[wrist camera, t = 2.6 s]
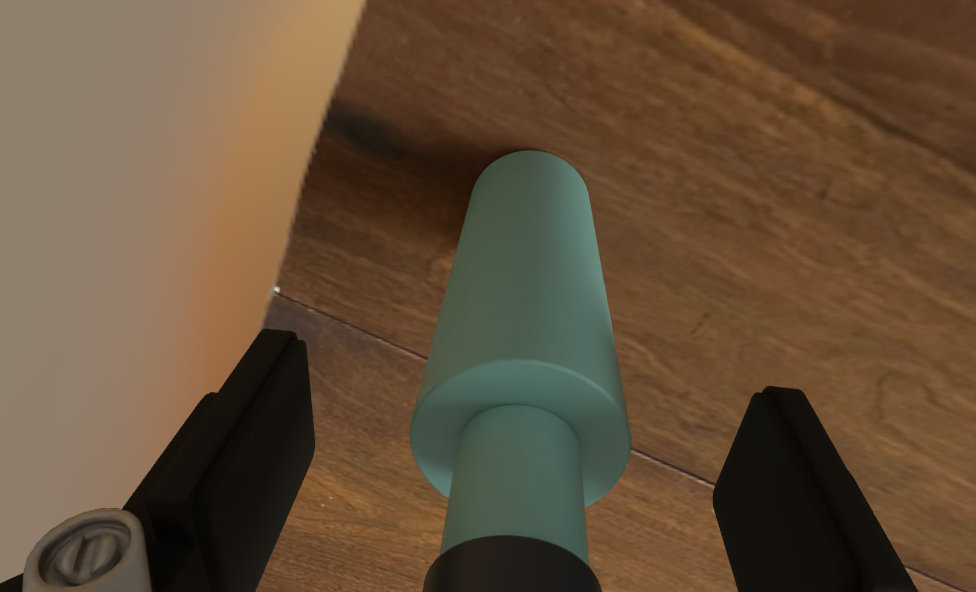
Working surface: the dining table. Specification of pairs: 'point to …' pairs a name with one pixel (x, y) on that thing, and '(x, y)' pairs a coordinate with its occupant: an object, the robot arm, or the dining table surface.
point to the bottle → (521, 387)
